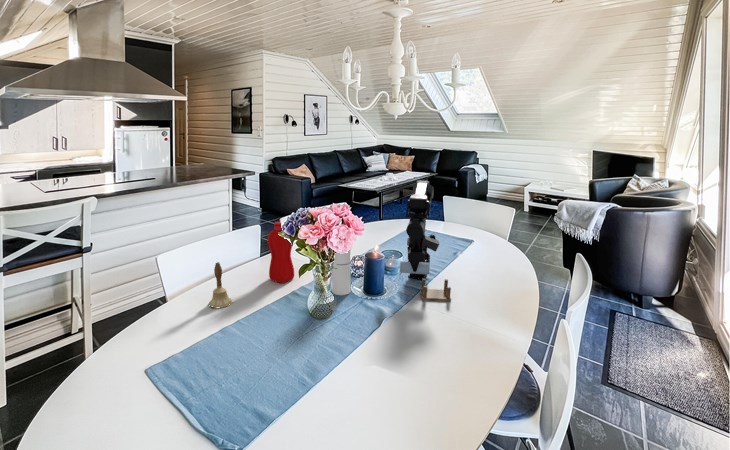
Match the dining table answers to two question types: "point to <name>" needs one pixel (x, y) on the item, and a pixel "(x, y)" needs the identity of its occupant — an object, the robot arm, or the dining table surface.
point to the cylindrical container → (341, 274)
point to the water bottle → (280, 256)
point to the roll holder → (436, 292)
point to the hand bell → (219, 290)
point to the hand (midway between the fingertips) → (414, 269)
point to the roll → (407, 268)
